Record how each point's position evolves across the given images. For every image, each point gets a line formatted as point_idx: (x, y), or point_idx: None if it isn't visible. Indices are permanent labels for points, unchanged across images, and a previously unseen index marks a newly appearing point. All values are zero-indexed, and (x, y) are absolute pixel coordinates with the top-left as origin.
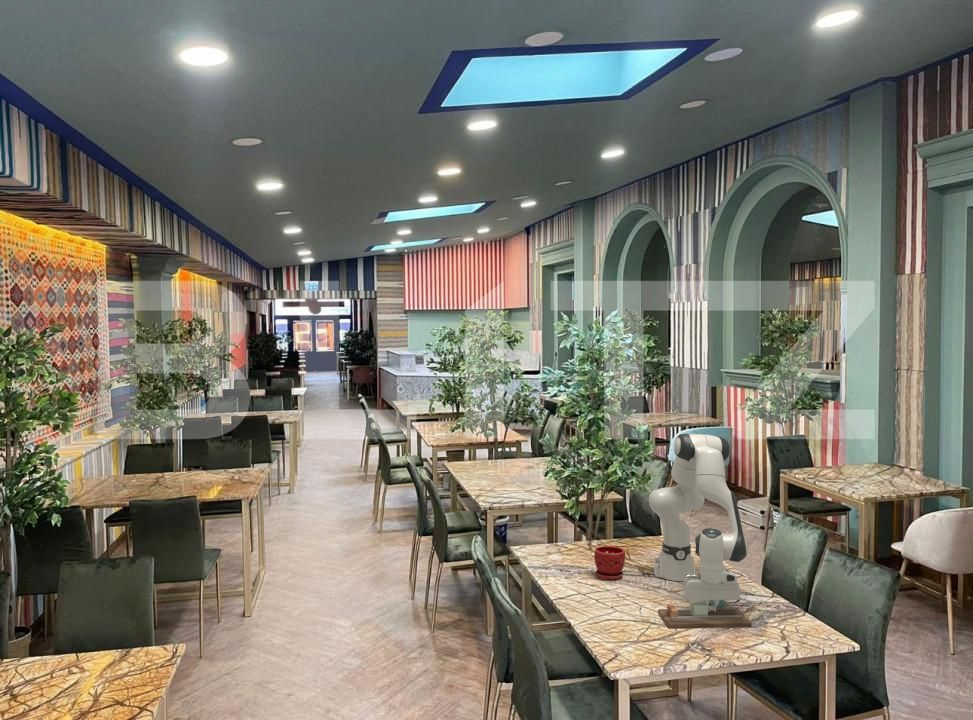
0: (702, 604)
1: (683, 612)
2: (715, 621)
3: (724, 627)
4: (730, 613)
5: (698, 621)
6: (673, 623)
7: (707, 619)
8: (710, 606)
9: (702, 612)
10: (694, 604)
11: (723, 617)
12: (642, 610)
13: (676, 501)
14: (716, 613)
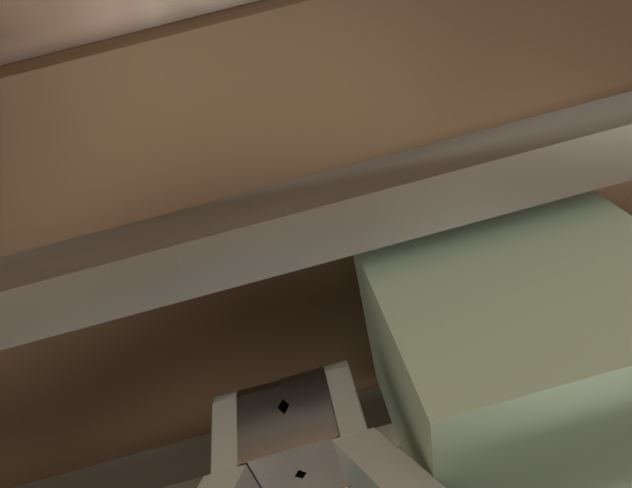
0: (515, 466)
1: None
2: (224, 141)
3: (49, 54)
4: (15, 463)
5: (550, 70)
6: None
7: (375, 166)
8: (314, 478)
9: (490, 277)
10: None
11: (57, 268)
12: None
13: None
14: (205, 416)
